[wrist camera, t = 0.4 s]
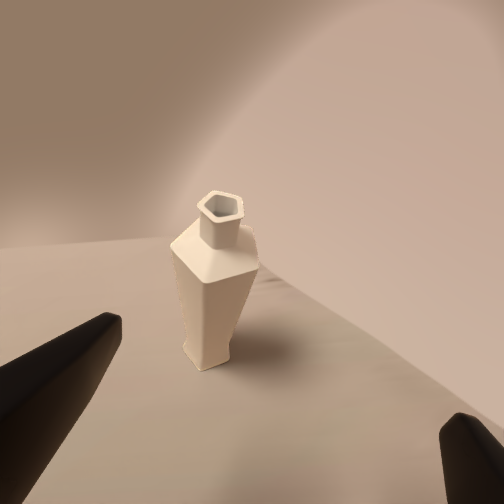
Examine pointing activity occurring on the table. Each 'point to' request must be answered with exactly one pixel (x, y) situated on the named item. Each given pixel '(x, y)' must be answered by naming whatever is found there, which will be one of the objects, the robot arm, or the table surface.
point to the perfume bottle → (214, 276)
